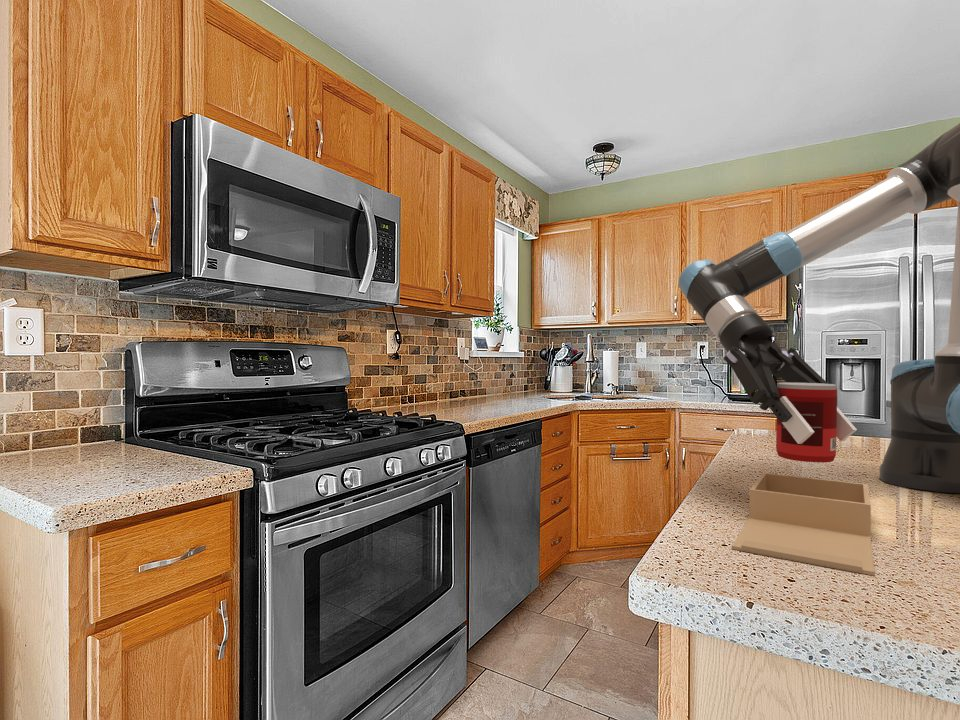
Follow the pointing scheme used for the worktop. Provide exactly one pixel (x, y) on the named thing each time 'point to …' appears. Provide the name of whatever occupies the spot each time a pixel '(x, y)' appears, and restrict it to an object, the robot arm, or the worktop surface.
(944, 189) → the robot arm
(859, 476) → the worktop surface
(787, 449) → the canned food
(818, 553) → the mailer box
